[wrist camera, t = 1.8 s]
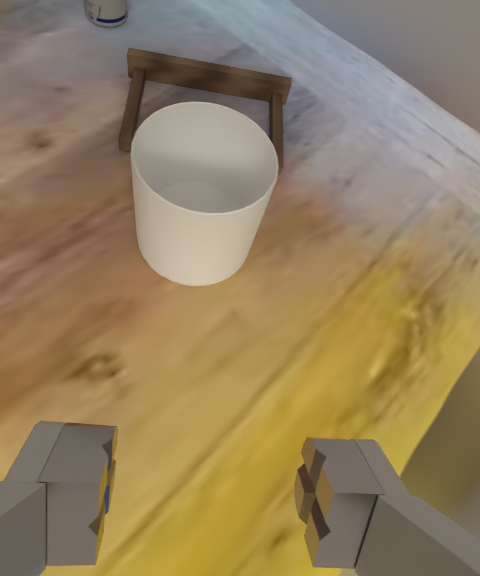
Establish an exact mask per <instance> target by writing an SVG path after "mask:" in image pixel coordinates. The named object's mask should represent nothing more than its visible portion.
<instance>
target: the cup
mask: <svg viewBox="0 0 480 576" xmlns="http://www.w3.org/2000/svg"><path fill="white" fill-rule="evenodd" d="M130 156H131V169H132V182H133V196H134V209H135V222H136V234H137V240H138V245H139V249H140V251H141V253H142V256H143V258H144V259H145V260H146V262H147V263H148V264H149V266H150V267H151V268H152V269H154V270H155V271H156V272H157V273H158V274H159V275H161V276H163V277H165V278H167V279H168V280H170V281H173V282H176V283H179V284H182V285H190V286H206V285H211V284H215V283H219V282H221V281H223V280H225V279H227V278H229V277H230V276H232V275H233V274H234V273H235V272H237V271H238V270H239V268H240V267H241V266H242V265H243V263H244V262H245V260H246V257H247V255H248V253H249V251H250V248H251V246H252V243H253V241H254V238H255V235H256V233H257V230H258V228H259V225H260V222H261V220H262V217H263V214H264V212H265V209H266V207H267V204H268V201H269V199H270V196H271V194H272V191H273V188H274V186H275V183H276V180H277V176H278V170H279V165H278V156H277V153H276V151H275V148H274V145H273V144H272V142H271V140H270V139H269V137H268V136H267V134H266V133H265V132H264V131H263V130H262V129H261V128H260V127H259V126H258V125H257V124H256V123H255V122H254V121H252V120H251V119H250V118H248V117H247V116H245V115H243V114H242V113H240V112H238V111H236V110H234V109H231V108H228V107H225V106H222V105H219V104H213V103H208V102H184V103H177V104H174V105H170V106H167V107H164V108H162V109H160V110H158V111H157V112H155V113H153V114H152V115H150V116H149V117H148V118H147V119H146V120H144V121H143V122H142V124H141V125H140V126H139V128H138V129H137V130H136V132H135V134H134V137H133V140H132V142H131V153H130Z"/></svg>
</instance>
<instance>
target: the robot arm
mask: <svg viewBox="0 0 480 576" xmlns="http://www.w3.org/2000/svg"><path fill="white" fill-rule="evenodd" d="M117 434H118V429H117V426H107V425H94V424H81V423H69V422H67V423H65V422H51V421H40V422H38V423H37V424H36V425H35V426H34V428H33V430H32V431H31V433H30V435H29V437H28V438H27V440H26V442H25V444H24V445H23V447H22V449H21V451H20V452H19V454H18V456H17V458H16V459H15V461H14V463H13V465H12V467H11V468H10V470H9V472H8V474H7V475H6V477H5V479H4V481H0V576H39V575H40V574H41V573H42V572H43V571H44V570H45V566H64V565H96V561H97V557H98V553H99V549H100V545H101V541H102V536H103V532H104V518H105V514H106V513H108V511H109V506H110V502H111V496H112V491H113V485H114V477H115V466H116V461H115V460H114V459H113V458H114V454H115V450H116V446H117ZM301 453H302V456H303V459H304V462H305V463H304V464H303V465H302V466H301V467H300V468H299V469H298V470H297V474H296V480H295V503H296V508H297V512H298V516H299V518H300V519H301V520H302V521H303V522H304V523H305V524H306V525H307V527H306V531H305V535H304V538H305V541H306V544H307V548H308V551H309V555H310V558H311V562H312V565H313V567H324V568H348V569H355V572H356V573H357V574H358V576H480V540H479V539H477V538H476V537H474V536H473V535H471V534H470V533H469V532H467V531H466V530H464V529H463V528H462V527H460V526H459V525H457V524H456V523H455V522H453V521H451V520H450V519H449V518H447V517H446V516H445V515H443V514H442V513H440V512H439V511H437V510H436V509H435V508H433V507H432V506H430V505H429V504H428V503H426V502H425V501H423V500H422V499H420V498H419V497H413V496H410V494H409V493H408V491H407V489H406V487H405V486H404V484H403V483H402V481H401V479H400V478H399V476H398V475H397V473H396V471H395V470H394V468H393V467H392V465H391V463H390V462H389V460H388V459H387V457H386V455H385V454H384V452H383V451H382V449H381V447H380V446H379V444H378V443H377V442H376V441H374V440H373V439H351V440H347V439H328V438H309V437H307V438H306V440H305V442H304V444H303V448H302V452H301Z"/></svg>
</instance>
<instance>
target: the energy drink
mask: <svg viewBox="0 0 480 576" xmlns="http://www.w3.org/2000/svg"><path fill="white" fill-rule="evenodd" d="M84 6H85V13H86V16H87V17H88V18H89V19H90V20H91V21H92V22H93V23H94V24H96V25H98V26H101V27H108V28H110V27H117V26H119V25H121V24H123V23H124V22H125V20H126V19H127V3H126V0H84Z"/></svg>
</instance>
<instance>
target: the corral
mask: <svg viewBox="0 0 480 576" xmlns="http://www.w3.org/2000/svg"><path fill="white" fill-rule="evenodd" d="M127 60H128V75H129V77H132V81H131V86H130V91H129V95H128V100H127V104H126V109H125V113H124V118H123V122H122V127H121V131H120V136H119V149H120V150H122V151H128V152H131V142H132V140H133V137H134V133H135V128H136V123H137V118H138V113H139V108H140V102H141V97H142V92H143V87H144V82H145V80H150V81H155V82H161V83H167V84H172V85H178V86H184V87H189V88H195V89H201V90H206V91H212V92H218V93H223V94H229V95H235V96H240V97H246V98H252V99H257V100H263V101H269V102H270V140H271V142H272V144H273V145H274V148H275V151H276V153H277V156H278V165H279V170H278V174H280V173H281V170H282V168H283V117H282V104H285V103H286V100H287V97H288V94H289V91H290V88H291V85H292V84H291V78H288V77H283V76H277V75H272V74H267V73H261V72H256V71H251V70H245V69H240V68H235V67H229V66H224V65H218V64H213V63H208V62H202V61H197V60H192V59H186V58H181V57H175V56H170V55H165V54H159V53H154V52H149V51H143V50H138V49H132V48H129V49H128V53H127Z"/></svg>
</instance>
